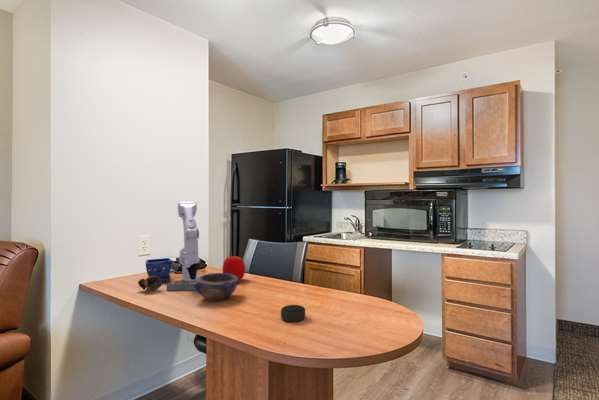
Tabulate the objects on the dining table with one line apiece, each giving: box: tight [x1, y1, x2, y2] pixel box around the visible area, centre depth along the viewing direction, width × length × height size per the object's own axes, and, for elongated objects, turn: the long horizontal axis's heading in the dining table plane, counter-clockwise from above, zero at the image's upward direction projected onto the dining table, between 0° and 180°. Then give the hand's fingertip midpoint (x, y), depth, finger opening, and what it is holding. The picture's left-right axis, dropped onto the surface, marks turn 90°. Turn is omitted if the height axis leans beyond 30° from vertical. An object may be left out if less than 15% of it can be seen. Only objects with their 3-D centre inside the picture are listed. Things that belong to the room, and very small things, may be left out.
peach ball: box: [174, 277, 184, 284], centre depth 173 cm, size 4×4×4 cm
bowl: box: [194, 272, 241, 302], centre depth 153 cm, size 18×18×10 cm
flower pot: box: [145, 257, 172, 284], centre depth 191 cm, size 13×13×12 cm
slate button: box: [189, 278, 198, 284], centre depth 172 cm, size 4×4×4 cm
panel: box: [166, 280, 196, 292], centre depth 172 cm, size 8×24×3 cm, turn 87°
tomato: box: [222, 254, 246, 281], centre depth 186 cm, size 13×11×14 cm
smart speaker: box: [280, 304, 306, 323], centre depth 124 cm, size 9×9×4 cm
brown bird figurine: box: [137, 276, 163, 294], centre depth 169 cm, size 12×10×8 cm
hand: (193, 279), depth 172 cm, fingers closed, pressing on slate button
